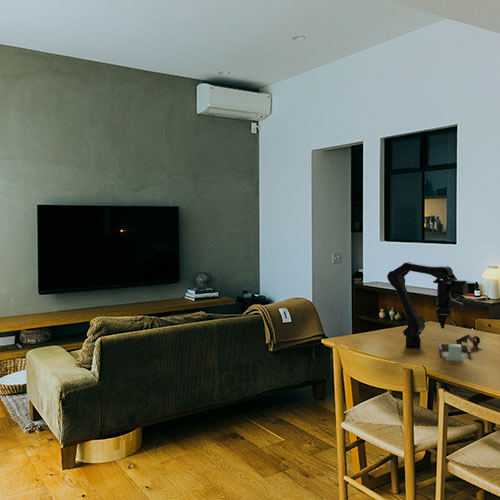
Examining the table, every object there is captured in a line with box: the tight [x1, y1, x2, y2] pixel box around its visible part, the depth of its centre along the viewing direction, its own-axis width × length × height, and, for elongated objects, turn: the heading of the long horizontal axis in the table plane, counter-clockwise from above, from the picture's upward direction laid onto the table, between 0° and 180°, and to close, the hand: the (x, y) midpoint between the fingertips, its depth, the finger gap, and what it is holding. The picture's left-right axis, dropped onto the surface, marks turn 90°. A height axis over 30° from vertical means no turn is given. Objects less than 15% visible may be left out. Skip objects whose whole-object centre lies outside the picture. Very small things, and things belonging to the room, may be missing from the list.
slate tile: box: [445, 356, 465, 363], centre depth 228 cm, size 7×7×1 cm
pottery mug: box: [455, 333, 481, 352], centre depth 248 cm, size 12×10×8 cm
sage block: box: [448, 343, 461, 361], centre depth 228 cm, size 5×5×6 cm
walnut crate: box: [438, 342, 472, 359], centre depth 238 cm, size 13×13×3 cm
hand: (442, 326), depth 241 cm, fingers open, 9 cm apart
